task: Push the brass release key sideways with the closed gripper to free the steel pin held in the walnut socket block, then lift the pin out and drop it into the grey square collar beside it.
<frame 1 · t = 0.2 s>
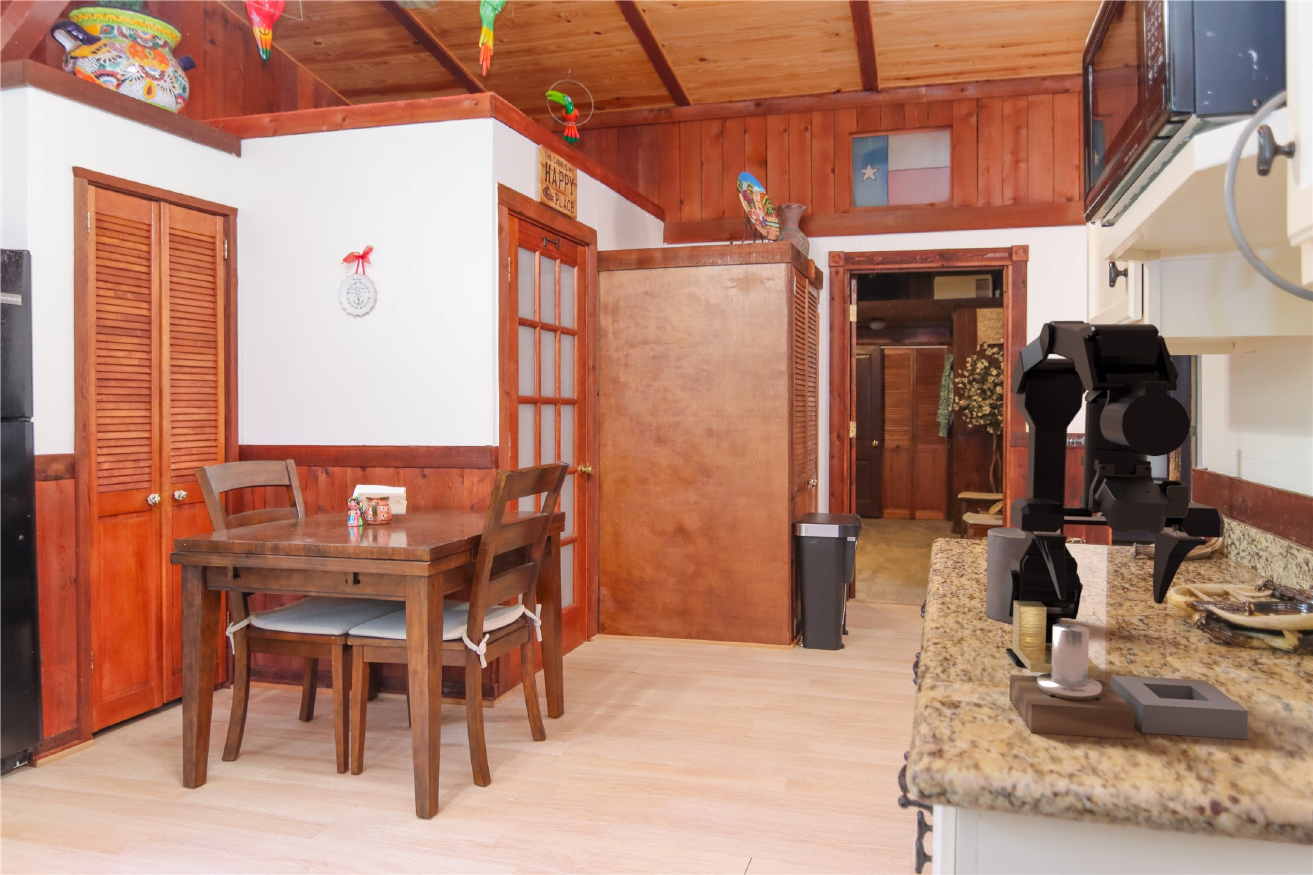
hand: (1109, 600, 93), 14 cm above the counter, tool pointing down, fingers open, 9 cm apart
steel pin: (1069, 673, 98), in the walnut socket block
pillar candle: (1017, 619, 143), on the counter
brass release key: (1053, 636, 105), point 7 cm above the counter, slide at 0.0 cm
walnut socket block: (1067, 718, 99), on the counter
grey square collar: (1174, 718, 99), on the counter
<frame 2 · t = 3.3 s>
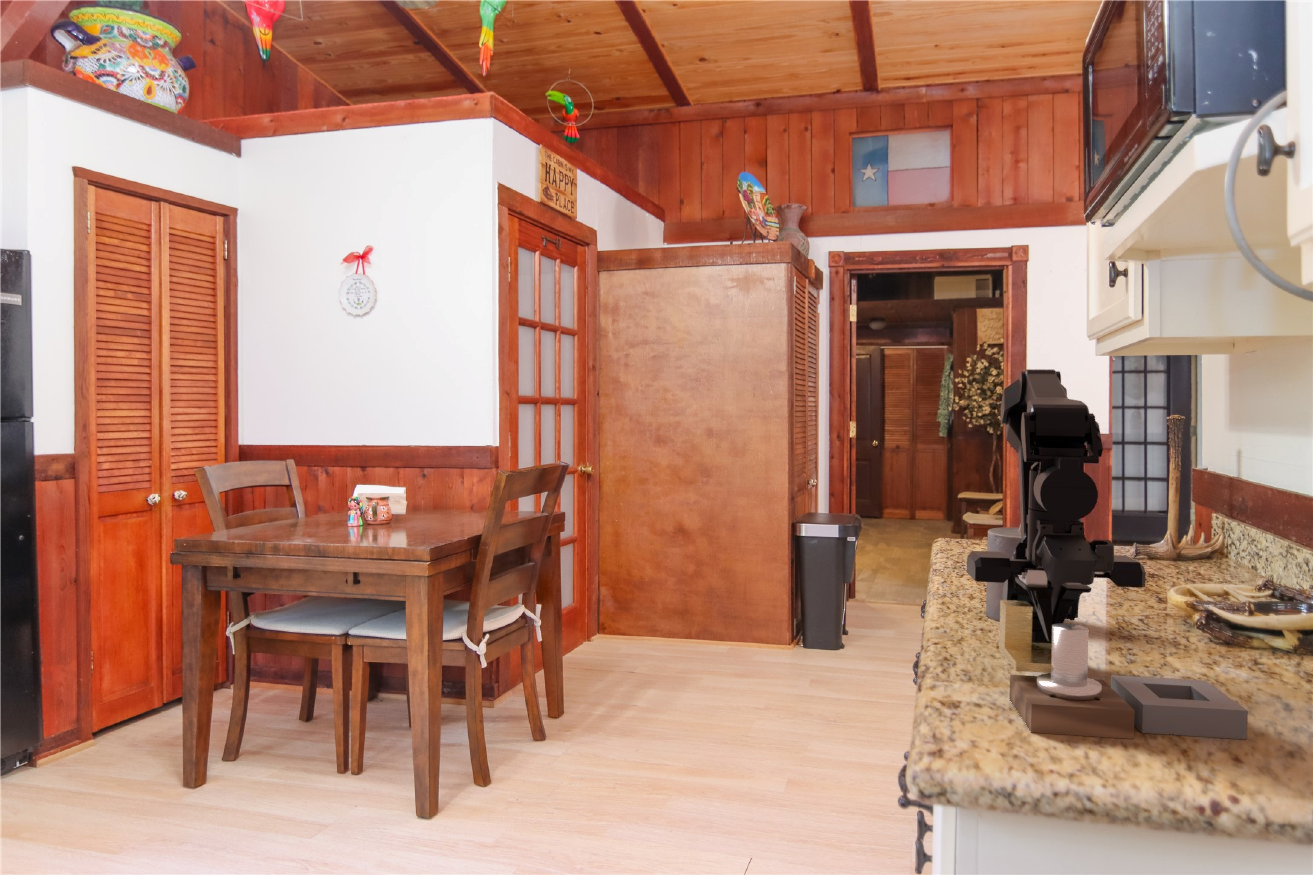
hand: (1050, 640, 108), 6 cm above the counter, tool pointing down, fingers closed
brass release key: (1039, 635, 105), point 7 cm above the counter, slide at 1.6 cm, touching gripper
everything else where it was.
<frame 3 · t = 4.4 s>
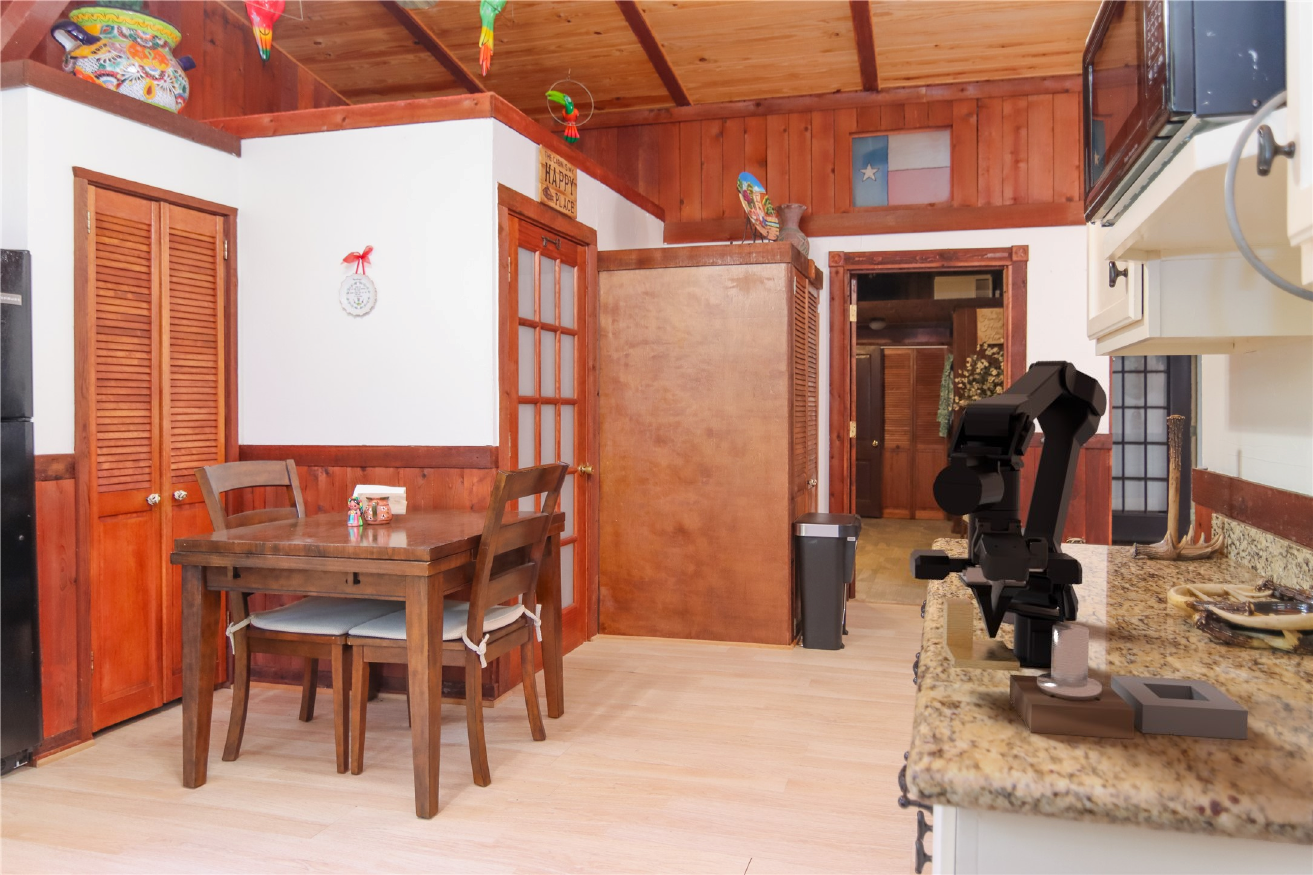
hand: (991, 637, 109), 6 cm above the counter, tool pointing down, fingers closed
brass release key: (979, 632, 106), point 7 cm above the counter, slide at 8.2 cm, touching gripper
everything else where it was.
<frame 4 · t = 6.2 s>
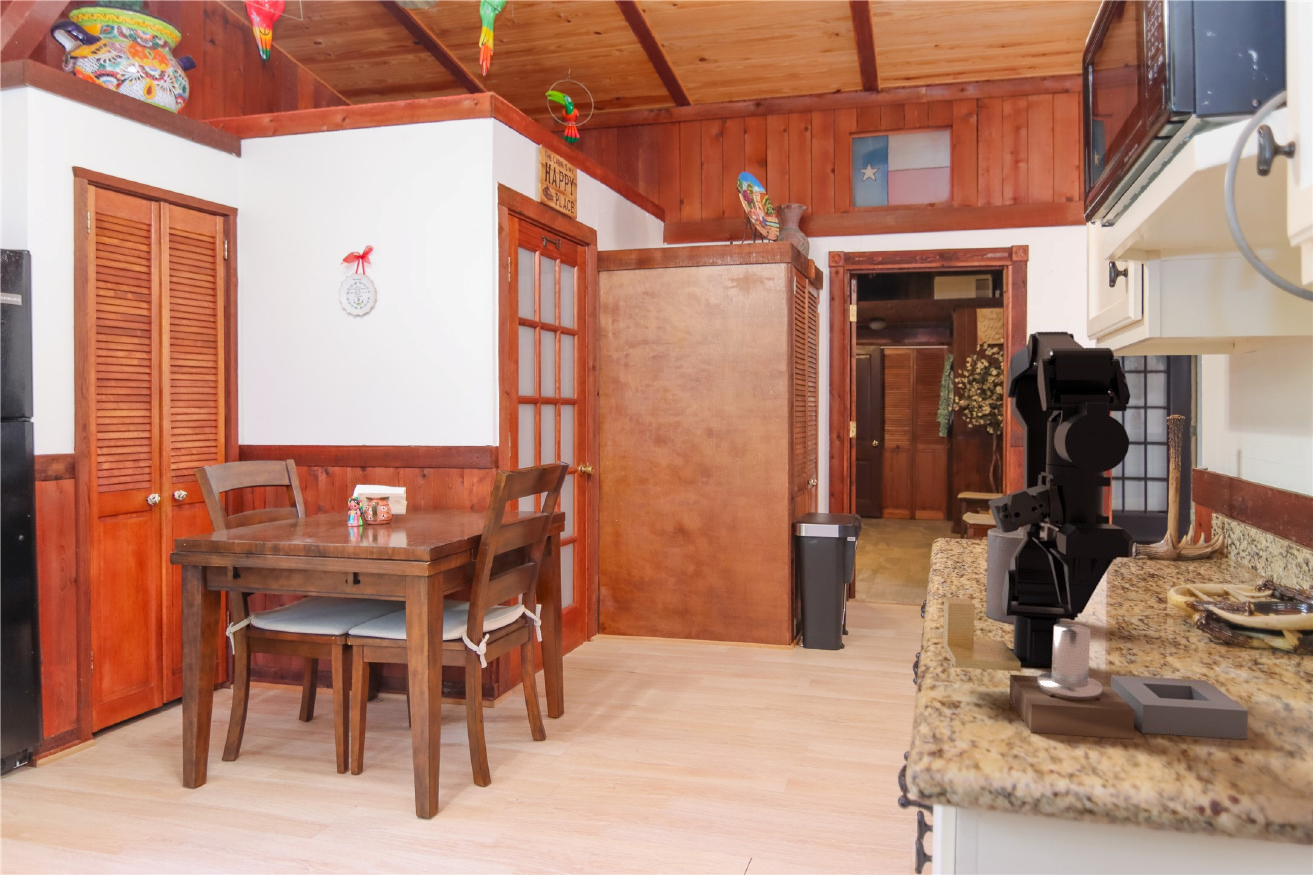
hand: (1070, 608, 98), 12 cm above the counter, tool pointing down, fingers open, 4 cm apart
brass release key: (980, 632, 106), point 7 cm above the counter, slide at 8.1 cm
everything else where it was.
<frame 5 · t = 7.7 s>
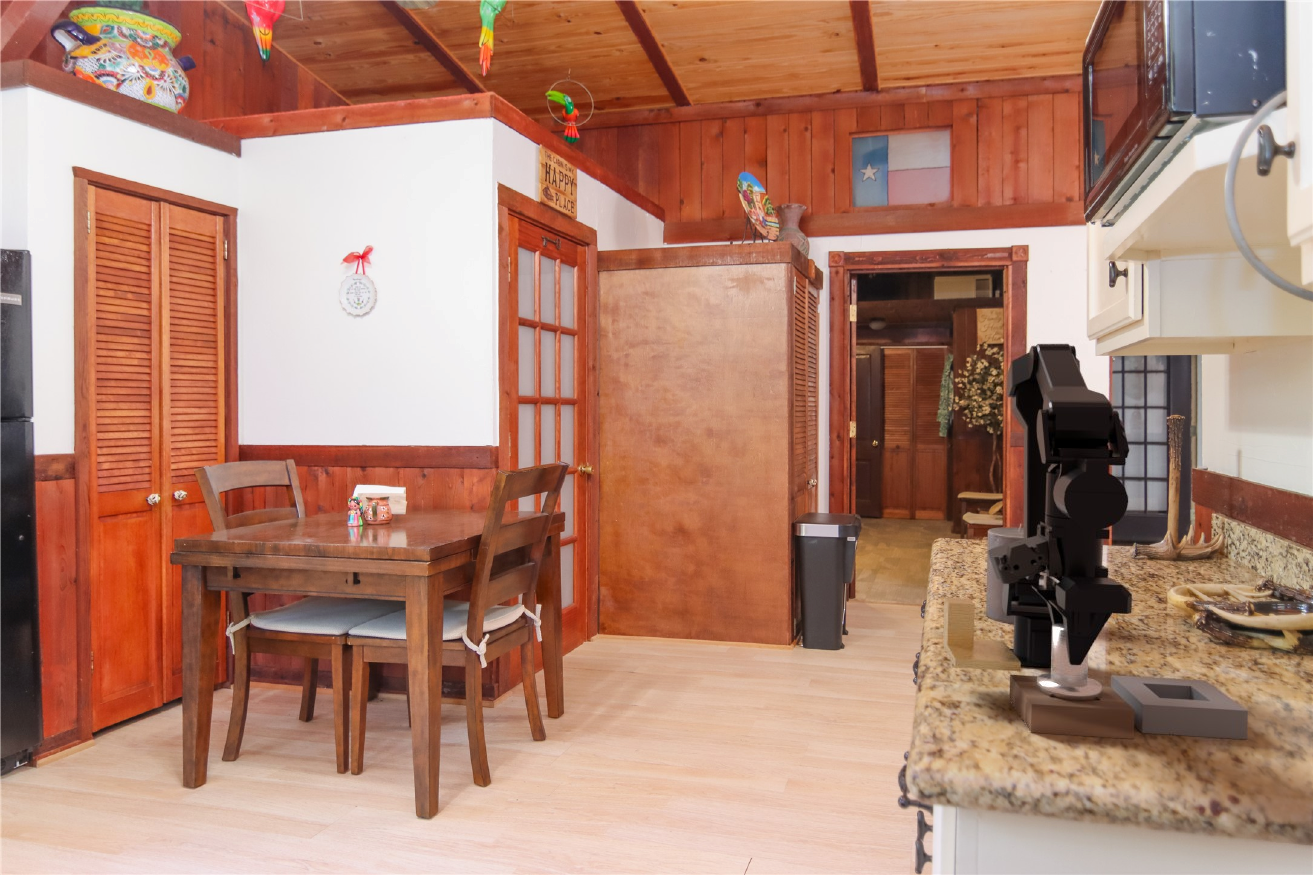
hand: (1069, 659, 98), 7 cm above the counter, tool pointing down, fingers closed on steel pin, 4 cm apart
steel pin: (1069, 673, 98), in the walnut socket block, touching gripper
everything else where it was.
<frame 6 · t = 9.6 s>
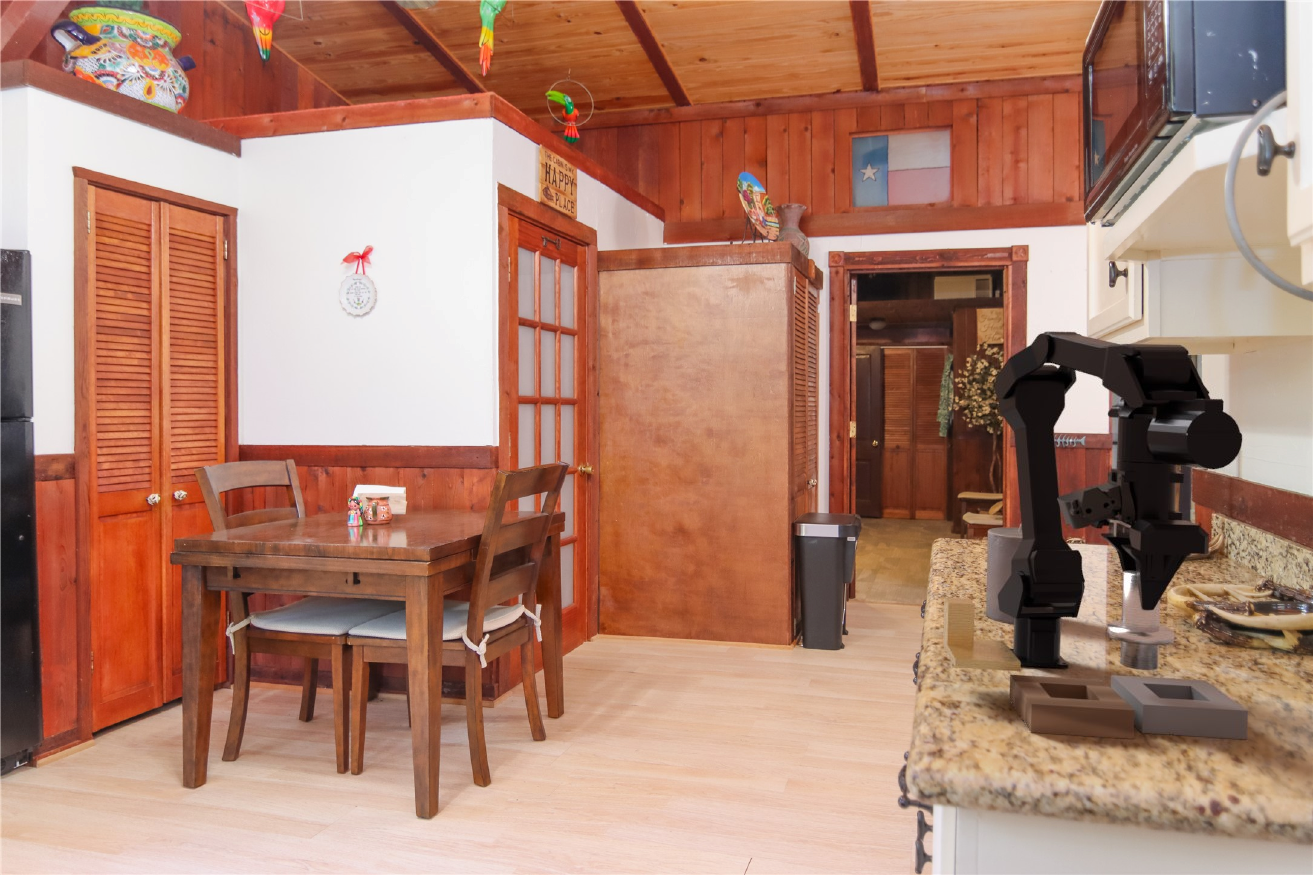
hand: (1141, 605, 98), 12 cm above the counter, tool pointing down, fingers closed on steel pin, 4 cm apart
steel pin: (1140, 619, 98), point 11 cm above the counter, touching gripper
everything else where it was.
when the fingers open (7 cm above the counter, at t = 11.4 s): steel pin stays where it is, resting in grey square collar.
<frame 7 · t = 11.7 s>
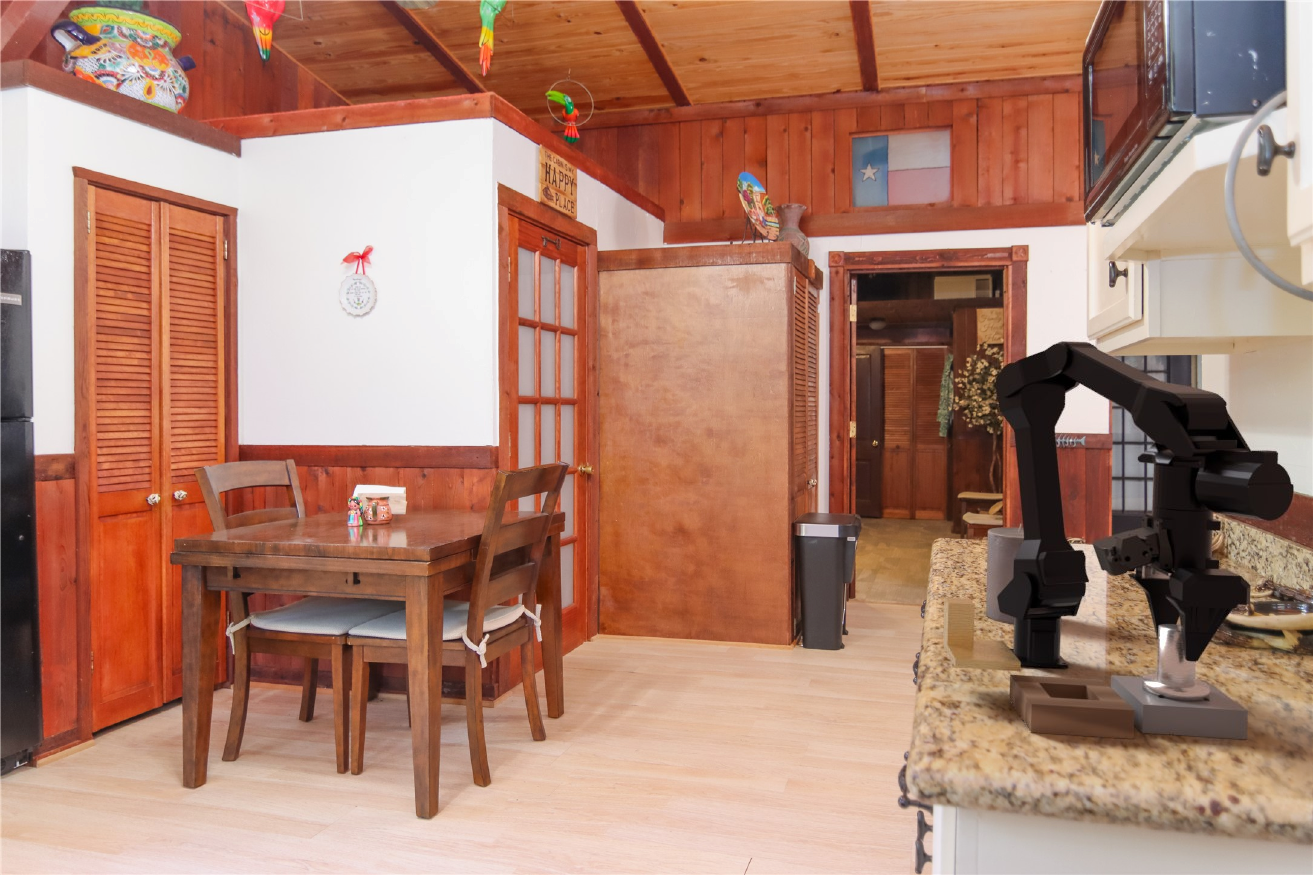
hand: (1176, 650, 98), 7 cm above the counter, tool pointing down, fingers open, 7 cm apart
steel pin: (1175, 673, 99), in the grey square collar
everything else where it was.
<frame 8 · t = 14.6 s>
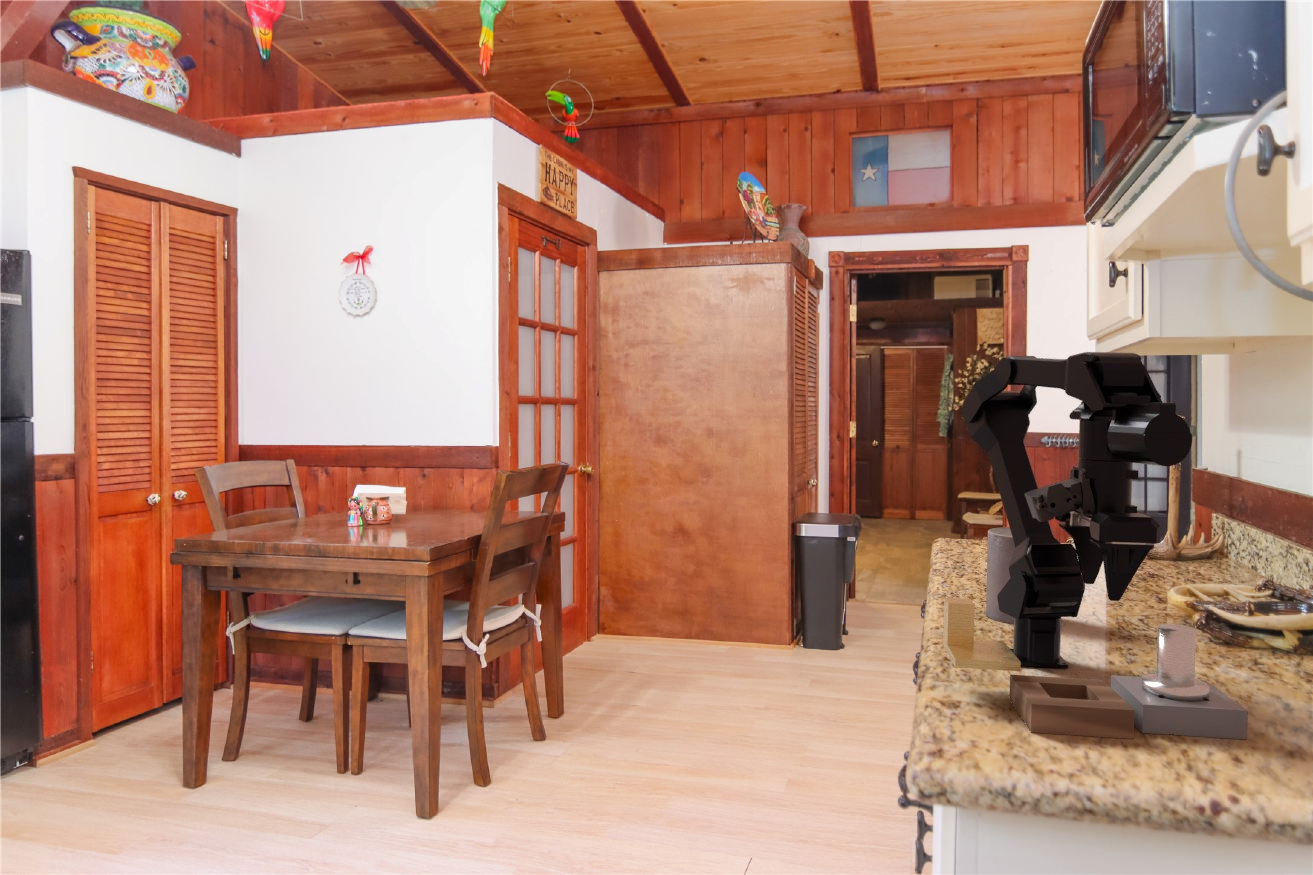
hand: (1100, 591, 107), 12 cm above the counter, tool pointing down, fingers open, 9 cm apart
nothing on the counter moved.
at the end: steel pin 0.0 cm off-centre on the grey square collar, point 5.0 cm above the grey square collar's base; brass release key slide at 8.1 cm; steel pin tilted 0° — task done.
